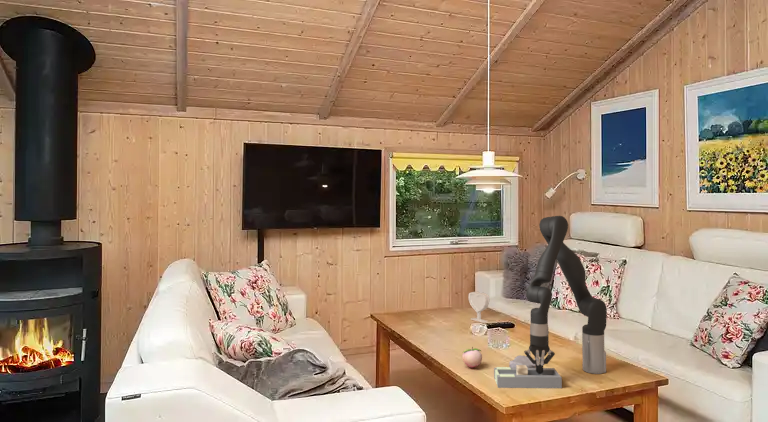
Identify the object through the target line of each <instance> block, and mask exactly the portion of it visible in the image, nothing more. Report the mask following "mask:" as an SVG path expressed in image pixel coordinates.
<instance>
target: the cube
mask: <svg viewBox="0 0 768 422" xmlns="http://www.w3.org/2000/svg"><path fill="white" fill-rule="evenodd" d="M516 374H517V375H528V368H527V366H526V365H516Z"/></svg>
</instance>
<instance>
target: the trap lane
mask: <svg viewBox="0 0 768 422" xmlns="http://www.w3.org/2000/svg"><path fill="white" fill-rule="evenodd" d="M493 377H494V378H493V379H494V380H495V383H496V386H497V388H499V389H502V388H504V389H505V388H507V389H562V388H563V386H562V383H563V381H562V378H563V377H562V376H561V375H560V374H559V372H558V371H557V370H556V369H555V368H554V367H543V373H542V374H538V373H537V372H536V367H535V368H528V375H517V374H516V368H510V367H509V366H496V367H494V368H493Z"/></svg>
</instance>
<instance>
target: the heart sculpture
mask: <svg viewBox="0 0 768 422" xmlns="http://www.w3.org/2000/svg"><path fill="white" fill-rule="evenodd" d="M468 302H469V304H470V305H469V306H471V307H472V309H473V310H474V311H475V313H476V317H471V318H470V320H472V321H475V322H480V323H483V324H484V323H488V322H489V321H488V320H485V319H482V314H481V313H482V312H483V311H485V310H486V309H488V307H489V305H490V296H489V295H488V293H485V292H479V291H472V292H469V293H468Z"/></svg>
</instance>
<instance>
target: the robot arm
mask: <svg viewBox="0 0 768 422" xmlns="http://www.w3.org/2000/svg"><path fill="white" fill-rule="evenodd" d="M568 230H569V222H568V220H567V219H566V218H565V217H564V216H563V215H555V216H554V215H553V216H546V217H543V218H541V219H540V221H539V231H540V234H541V235H542V237H543V238H544V240H545V241H546V243H547V247H546V248H545V249H544V250H543V253H542V254H541V255H540V257H539V258H538V261H537V263H536V266H535V267H536V268H535V271H534V275H533V277H532V279H531V281H530V283H529V285H528V287H527V289H526V292H525V296H526V300H528V301H529V302H530V303H531V302H532V303H535V304H540V306H539V307H534V308H532V309H530V323H529V324H530V325H529V346H528V349H527V350H524V351H523V354H525V355H524V356H527V357H528V358H529V360H530V361H531V362H532V363H533V364H536V366H535V368H536V372H537V373H538V374H542V373H543V368H544V366H545V365H548V364H549V362H551V360H552V359H553V357H555V355H556V354H555V352H554V351H553V350H551V349H550V348H551V347H550V346H549V344H550V343H549V341H550V339H549V333H550V331H549V322H548V319H549V318H548V315H549V311H550V306H551V303H552V299H553V293H552V289H550V288H549V287H545V286H541V285H543V284H548V283H550V282H551V281H552V278H553V274H554V269H555V264H556V263H558V265H559V268H560V270H561V271H562V273H563V276H564V277H565V279H566V282H567V283H568V284H567V285H568V286H569V288H570V290H571V291H572V294H573V296H574V299H575V302H576V306H577V308H578V311H579V312H580V313H581V314H582V315H583V316H584V317H587V324H584V325H583V326H582V328H581V331H582V332H581V333H582V334H581V336H582V337H581V338H582V342H581V343H582V345H581V346H582V347H581V348H582V350H581V351H582V371H584V372H586V373H588V374H595V375H601V374H603V373H604V374H605V373H607V351H606V350H605V329H606V328H607V317H608V316H607V315H608V314H607V313H608V312H607V311H608V309H607V305H606V303H605V301H603V300H602V299H600V298H597V297H593V296H592V294H591V293H590V291H589V289H588V286H587V283H586V278H587V276H586V275H587V274H586V270H585V266H584V264H583V263H582V260H581V258H580V257H579V255H578V254H576V253H575V252H574V251H573V250H572V249H571V248H570V247H568V246H567V244H565V243H564V241H565V238H566V236H567V233H568ZM556 261H557V262H556ZM531 355H533V357H534V358H533V357H532V356H531ZM533 359H534V360H533Z"/></svg>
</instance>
